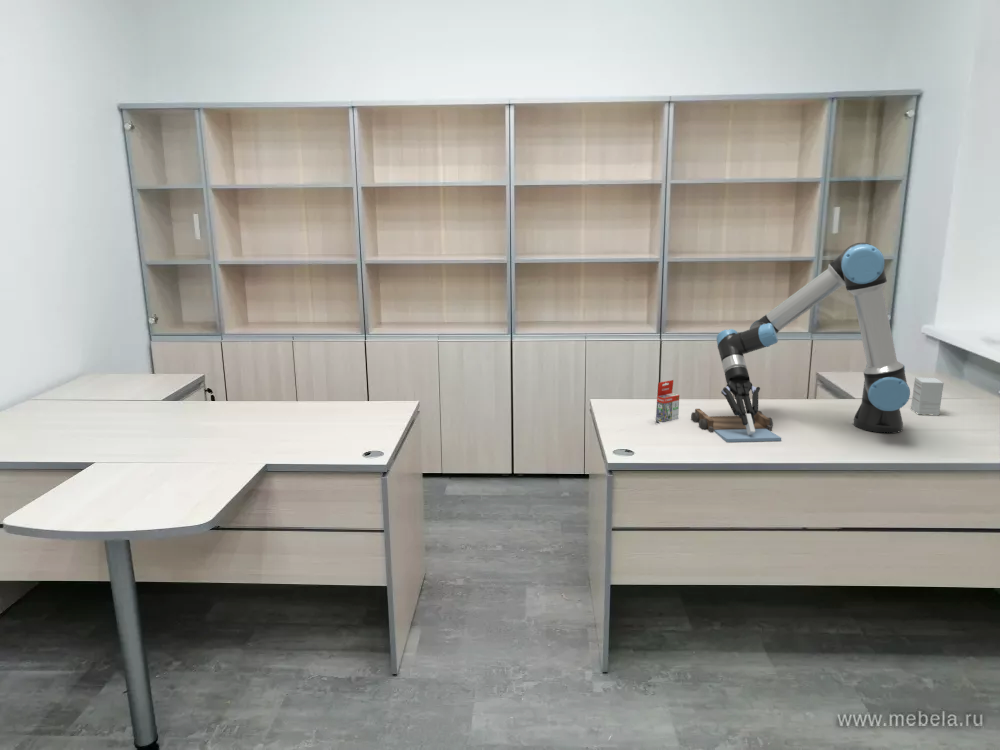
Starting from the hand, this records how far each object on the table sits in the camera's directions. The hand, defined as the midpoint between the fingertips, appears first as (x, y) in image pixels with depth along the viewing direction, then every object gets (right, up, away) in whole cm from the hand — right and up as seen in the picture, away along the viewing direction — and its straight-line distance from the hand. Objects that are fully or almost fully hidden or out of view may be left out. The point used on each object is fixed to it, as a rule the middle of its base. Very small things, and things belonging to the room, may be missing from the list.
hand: (751, 433), depth 231 cm
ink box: (-22, +2, +22) cm, 32 cm away
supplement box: (+76, +5, +33) cm, 83 cm away
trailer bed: (-1, +1, +16) cm, 16 cm away
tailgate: (-1, 0, +9) cm, 9 cm away
